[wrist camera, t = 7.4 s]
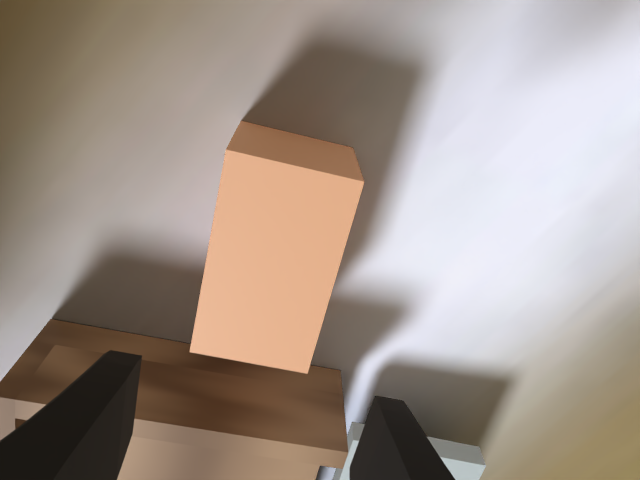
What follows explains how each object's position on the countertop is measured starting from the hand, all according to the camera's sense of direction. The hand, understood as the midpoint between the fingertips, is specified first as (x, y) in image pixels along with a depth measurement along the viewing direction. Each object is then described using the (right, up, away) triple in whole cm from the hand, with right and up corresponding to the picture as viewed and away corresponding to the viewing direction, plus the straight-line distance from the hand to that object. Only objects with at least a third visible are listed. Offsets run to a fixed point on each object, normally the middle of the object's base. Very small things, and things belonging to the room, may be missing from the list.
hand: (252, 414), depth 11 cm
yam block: (0, +4, +9) cm, 10 cm away
